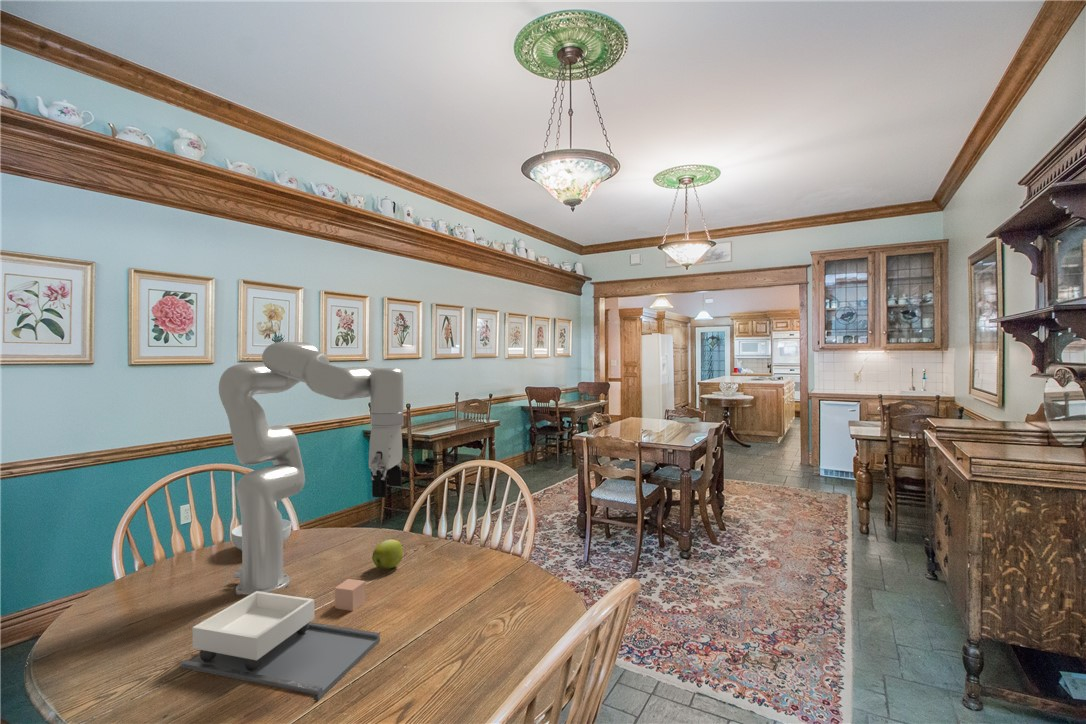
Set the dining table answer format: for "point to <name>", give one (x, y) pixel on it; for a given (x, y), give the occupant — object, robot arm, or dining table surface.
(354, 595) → the block
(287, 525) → the cereal bowl
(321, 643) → the track
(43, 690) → the dining table surface
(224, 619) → the cart
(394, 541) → the apple
